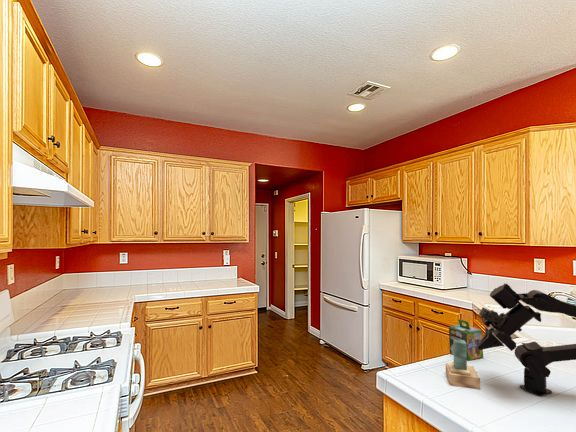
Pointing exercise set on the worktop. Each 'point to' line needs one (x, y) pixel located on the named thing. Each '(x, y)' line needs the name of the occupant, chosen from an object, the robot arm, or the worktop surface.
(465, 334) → the chalk box
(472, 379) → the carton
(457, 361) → the tall teal pillar
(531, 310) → the robot arm
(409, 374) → the worktop surface
